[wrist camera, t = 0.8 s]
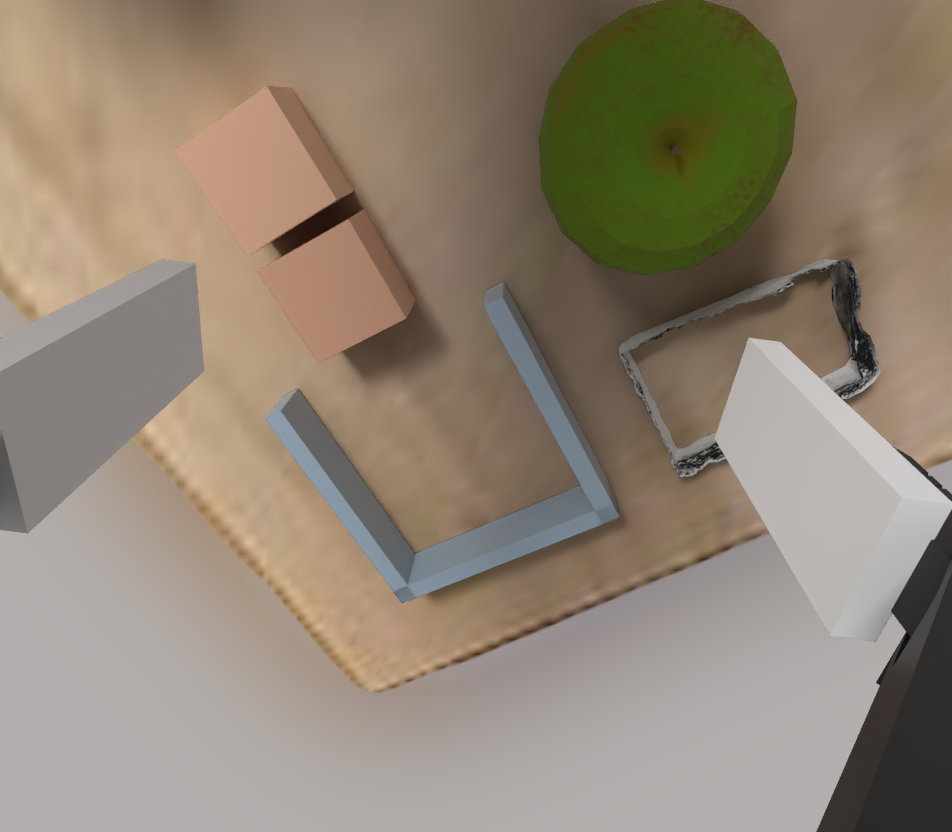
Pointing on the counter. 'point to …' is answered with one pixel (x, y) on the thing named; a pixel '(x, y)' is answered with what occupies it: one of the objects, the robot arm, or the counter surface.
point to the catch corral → (479, 545)
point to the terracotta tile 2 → (339, 287)
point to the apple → (666, 135)
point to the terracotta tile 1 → (264, 168)
